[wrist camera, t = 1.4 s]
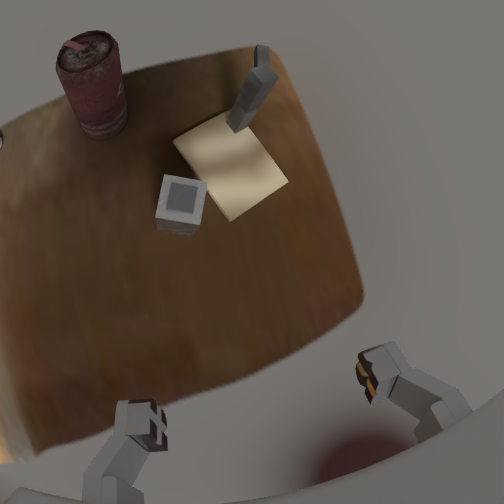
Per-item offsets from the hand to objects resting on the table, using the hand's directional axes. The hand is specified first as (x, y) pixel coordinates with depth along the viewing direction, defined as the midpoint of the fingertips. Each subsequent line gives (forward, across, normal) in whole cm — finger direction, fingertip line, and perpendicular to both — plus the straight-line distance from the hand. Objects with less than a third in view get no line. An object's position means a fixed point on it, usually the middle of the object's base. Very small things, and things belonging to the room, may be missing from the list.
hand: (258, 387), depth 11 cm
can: (+32, +12, -9) cm, 35 cm away
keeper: (+30, -3, -1) cm, 30 cm away
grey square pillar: (+25, +5, +3) cm, 26 cm away
